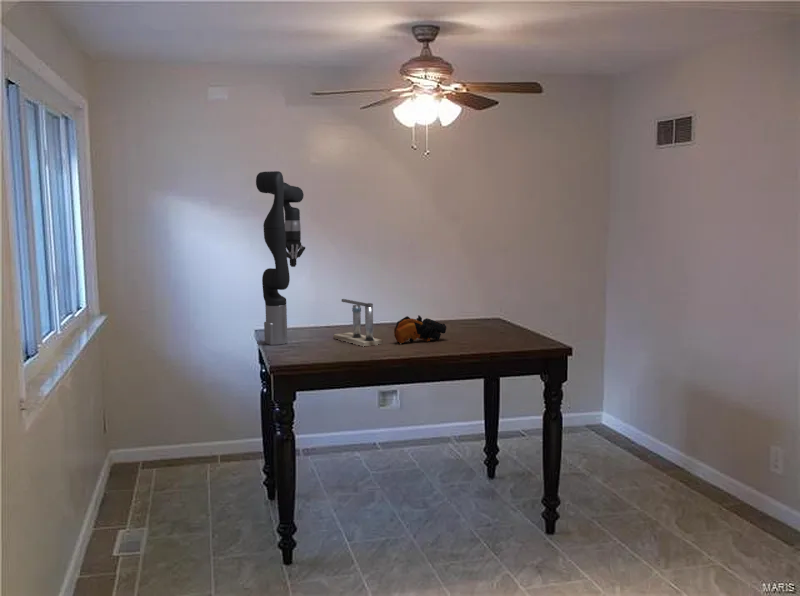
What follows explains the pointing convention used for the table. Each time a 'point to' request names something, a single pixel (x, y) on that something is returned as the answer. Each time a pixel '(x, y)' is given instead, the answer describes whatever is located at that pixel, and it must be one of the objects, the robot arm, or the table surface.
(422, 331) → the tool
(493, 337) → the table surface
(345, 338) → the hole board
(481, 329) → the table surface
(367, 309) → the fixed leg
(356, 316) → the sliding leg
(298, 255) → the robot arm
